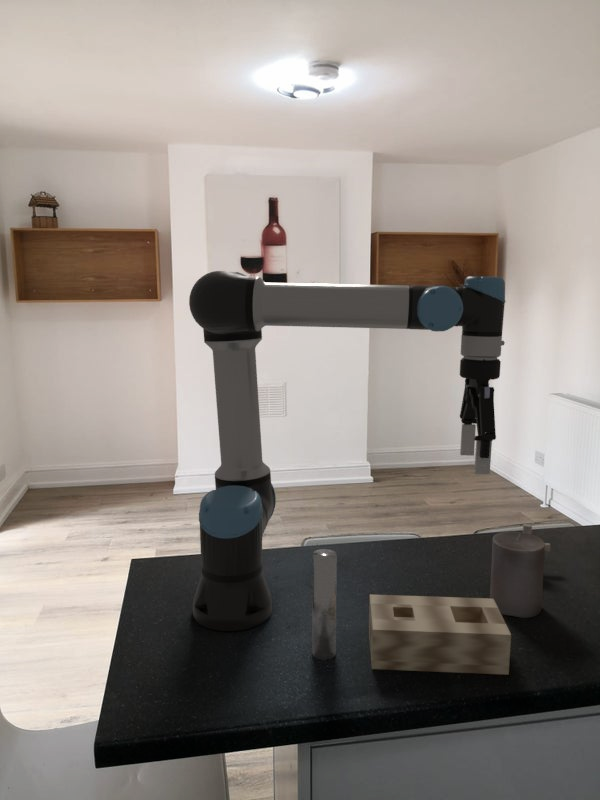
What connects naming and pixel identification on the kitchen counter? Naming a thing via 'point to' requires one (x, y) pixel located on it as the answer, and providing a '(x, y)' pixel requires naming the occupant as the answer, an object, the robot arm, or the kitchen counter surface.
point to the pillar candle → (517, 573)
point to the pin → (324, 604)
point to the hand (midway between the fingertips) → (474, 464)
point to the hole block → (438, 634)
